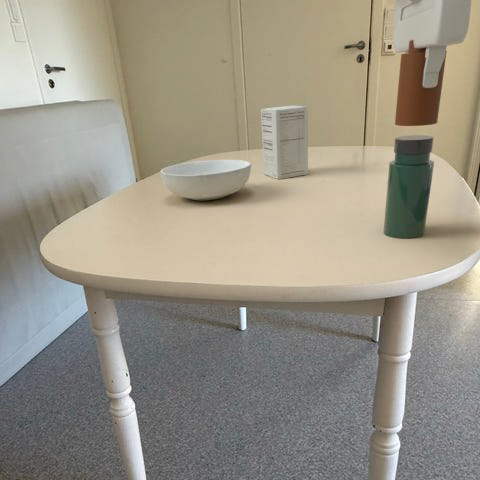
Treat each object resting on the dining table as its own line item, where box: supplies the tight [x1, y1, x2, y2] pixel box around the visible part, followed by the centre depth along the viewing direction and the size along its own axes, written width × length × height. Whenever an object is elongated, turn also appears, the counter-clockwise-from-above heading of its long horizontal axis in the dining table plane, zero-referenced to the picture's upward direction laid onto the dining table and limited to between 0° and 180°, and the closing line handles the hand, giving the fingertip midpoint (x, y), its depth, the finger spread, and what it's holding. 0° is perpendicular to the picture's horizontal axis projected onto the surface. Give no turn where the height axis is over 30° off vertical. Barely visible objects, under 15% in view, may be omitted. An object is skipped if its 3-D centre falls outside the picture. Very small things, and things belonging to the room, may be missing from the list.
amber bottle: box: [394, 40, 447, 127], centre depth 62 cm, size 6×6×12 cm
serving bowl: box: [160, 159, 252, 202], centre depth 104 cm, size 21×21×7 cm
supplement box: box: [260, 105, 309, 180], centre depth 118 cm, size 10×9×17 cm
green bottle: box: [382, 134, 435, 239], centre depth 70 cm, size 6×6×14 cm
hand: (420, 87), depth 63 cm, fingers closed on amber bottle, 6 cm apart
